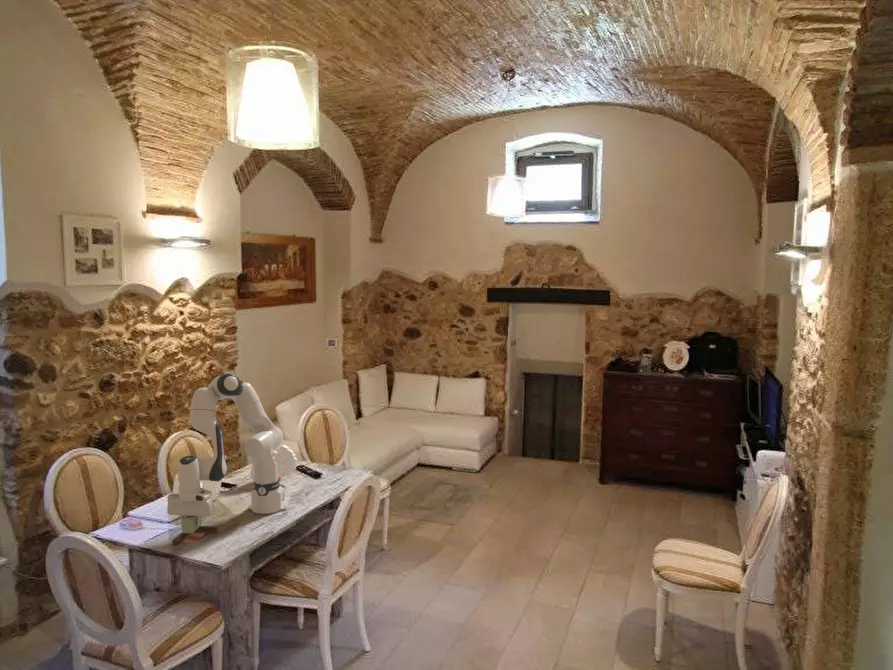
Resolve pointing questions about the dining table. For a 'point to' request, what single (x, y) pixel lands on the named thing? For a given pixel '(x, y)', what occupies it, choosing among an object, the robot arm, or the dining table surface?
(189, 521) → the sage block
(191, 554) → the dining table surface
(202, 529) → the brown flat wooden frame
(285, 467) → the decorative rooster
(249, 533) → the dining table surface
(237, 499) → the dining table surface
